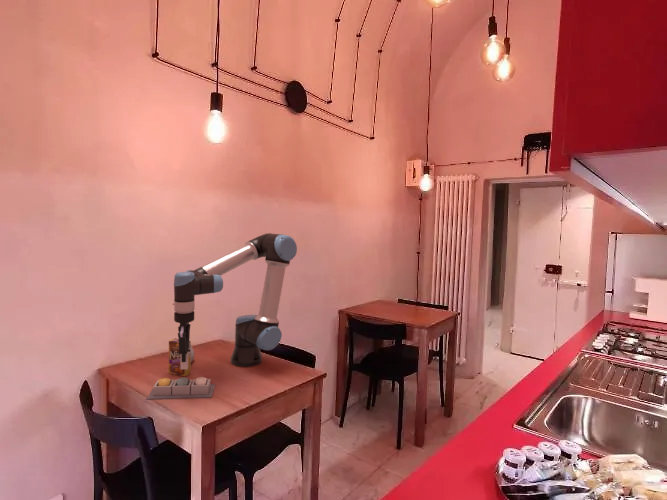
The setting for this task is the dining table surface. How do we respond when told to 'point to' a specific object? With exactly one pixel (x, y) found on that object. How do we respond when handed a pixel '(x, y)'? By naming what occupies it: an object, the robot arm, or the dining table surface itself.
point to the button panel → (181, 390)
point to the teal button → (182, 381)
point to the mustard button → (164, 382)
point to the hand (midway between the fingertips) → (184, 368)
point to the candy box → (177, 359)
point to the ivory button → (200, 381)
